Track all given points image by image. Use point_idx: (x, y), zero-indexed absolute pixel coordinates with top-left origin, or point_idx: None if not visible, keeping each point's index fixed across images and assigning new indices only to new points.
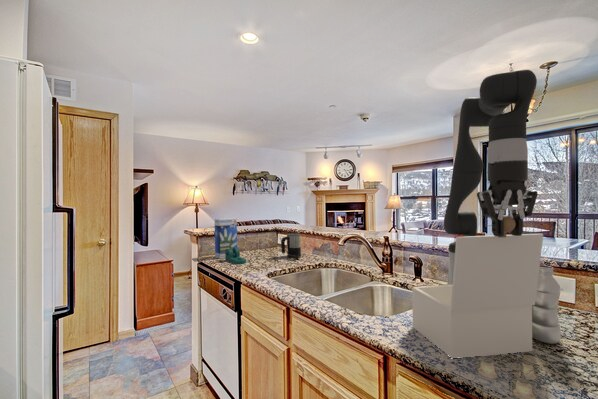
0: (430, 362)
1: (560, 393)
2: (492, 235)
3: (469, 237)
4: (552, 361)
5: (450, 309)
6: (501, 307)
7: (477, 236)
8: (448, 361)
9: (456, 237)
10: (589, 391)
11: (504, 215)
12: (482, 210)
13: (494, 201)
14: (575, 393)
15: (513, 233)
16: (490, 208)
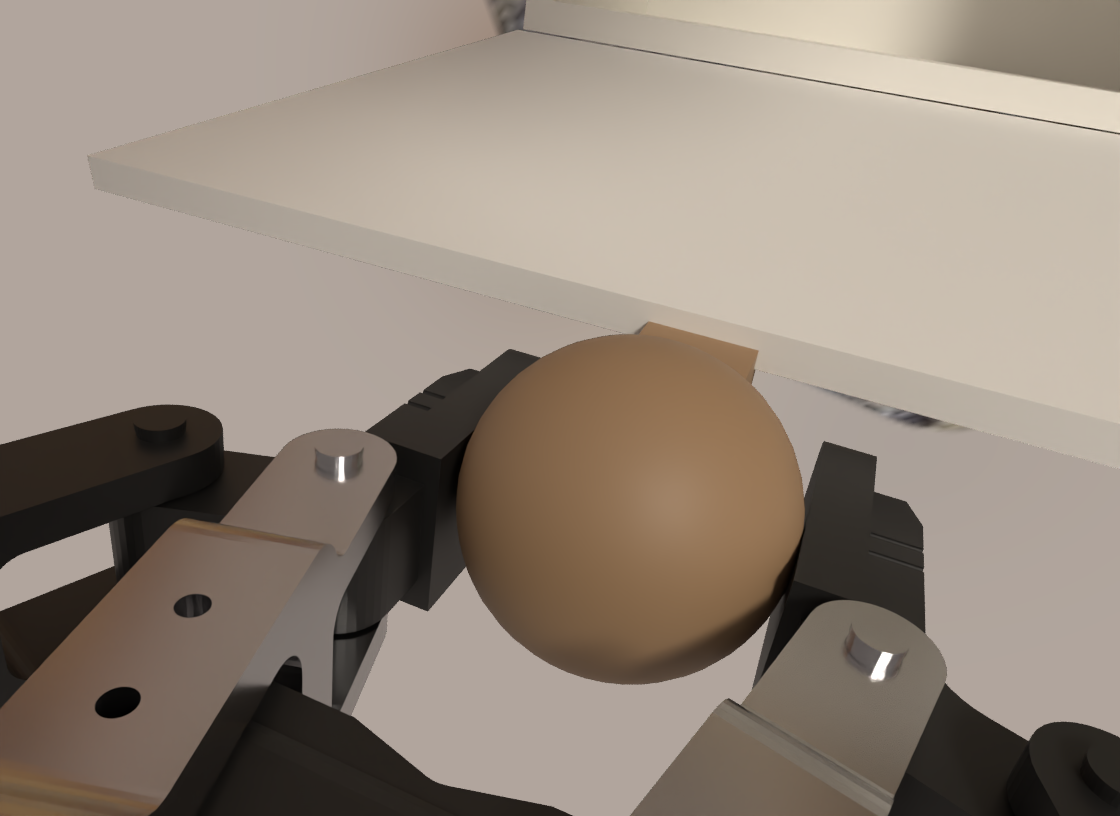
0: (515, 21)
1: (817, 387)
2: (579, 284)
3: (228, 224)
4: None
5: (525, 19)
6: (928, 98)
7: (332, 244)
8: (598, 43)
9: (96, 155)
10: (941, 429)
11: (532, 609)
12: (25, 462)
13: (114, 703)
14: (872, 411)
15: (810, 485)
16: (22, 661)
